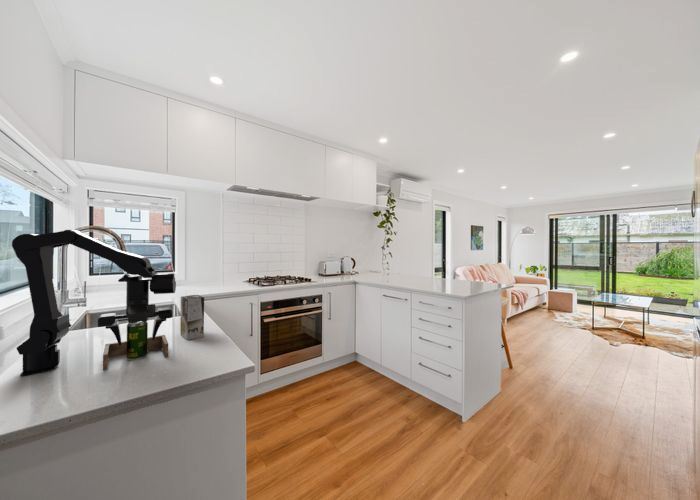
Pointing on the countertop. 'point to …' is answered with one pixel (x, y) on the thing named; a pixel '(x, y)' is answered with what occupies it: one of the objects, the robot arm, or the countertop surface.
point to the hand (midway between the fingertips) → (137, 342)
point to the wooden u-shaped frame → (117, 350)
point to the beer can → (137, 340)
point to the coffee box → (192, 316)
